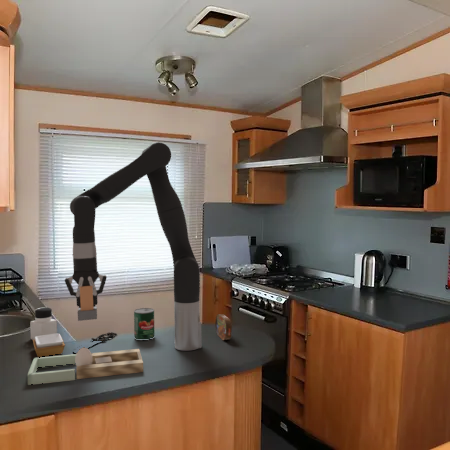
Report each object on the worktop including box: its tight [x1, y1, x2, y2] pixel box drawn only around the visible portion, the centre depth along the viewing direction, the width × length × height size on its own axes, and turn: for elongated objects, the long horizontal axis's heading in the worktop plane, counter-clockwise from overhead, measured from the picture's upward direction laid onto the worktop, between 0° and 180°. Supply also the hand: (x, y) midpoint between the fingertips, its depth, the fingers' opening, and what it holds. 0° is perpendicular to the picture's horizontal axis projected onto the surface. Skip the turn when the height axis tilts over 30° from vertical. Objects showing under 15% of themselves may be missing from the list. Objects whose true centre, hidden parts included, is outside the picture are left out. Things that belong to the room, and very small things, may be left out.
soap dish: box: [32, 333, 66, 358], centre depth 165 cm, size 12×10×5 cm
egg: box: [75, 347, 92, 367], centre depth 147 cm, size 5×5×7 cm
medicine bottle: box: [29, 306, 58, 341], centre depth 181 cm, size 7×7×12 cm
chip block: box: [95, 357, 112, 364], centre depth 148 cm, size 5×5×3 cm
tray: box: [26, 353, 77, 386], centre depth 144 cm, size 13×15×3 cm
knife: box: [91, 331, 118, 342], centre depth 174 cm, size 25×6×1 cm, turn 154°
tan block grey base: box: [77, 285, 98, 322], centre depth 154 cm, size 6×6×11 cm
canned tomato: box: [133, 307, 156, 339], centre depth 180 cm, size 8×8×11 cm
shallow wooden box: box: [75, 348, 144, 380], centre depth 149 cm, size 20×14×3 cm
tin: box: [214, 313, 233, 341], centre depth 181 cm, size 15×3×8 cm, turn 16°
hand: (87, 306), depth 154 cm, fingers closed on tan block grey base, 4 cm apart
